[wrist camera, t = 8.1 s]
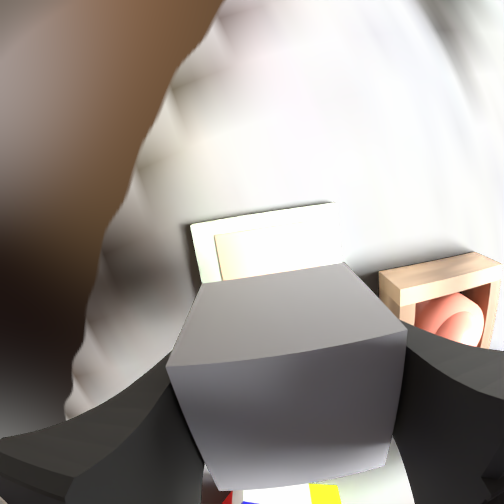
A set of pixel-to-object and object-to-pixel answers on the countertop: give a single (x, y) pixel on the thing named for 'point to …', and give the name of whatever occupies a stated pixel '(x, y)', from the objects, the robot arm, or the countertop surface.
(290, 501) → the puzzle toy
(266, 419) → the block
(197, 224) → the board
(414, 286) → the collar
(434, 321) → the dome
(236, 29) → the countertop surface
